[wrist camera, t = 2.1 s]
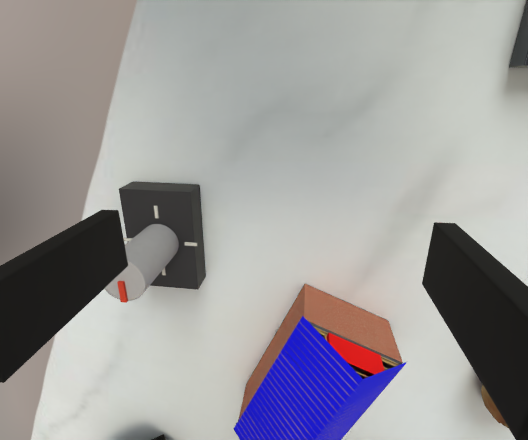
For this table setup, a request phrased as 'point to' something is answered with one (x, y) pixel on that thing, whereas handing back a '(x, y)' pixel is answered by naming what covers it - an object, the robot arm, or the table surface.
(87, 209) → the table surface
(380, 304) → the table surface
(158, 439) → the baking dish
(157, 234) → the timer dial
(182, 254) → the timer panel
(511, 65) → the button block
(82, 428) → the table surface
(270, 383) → the house
